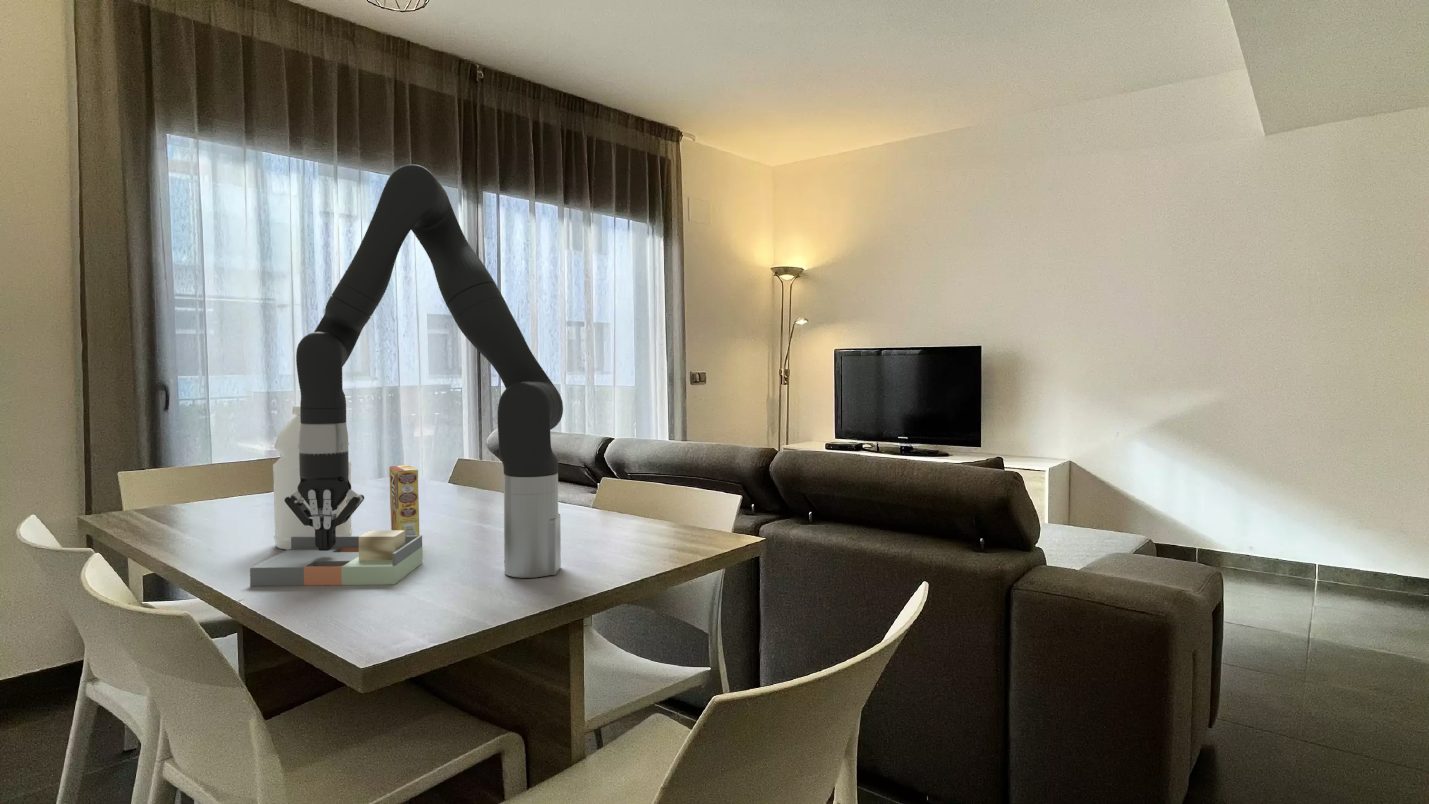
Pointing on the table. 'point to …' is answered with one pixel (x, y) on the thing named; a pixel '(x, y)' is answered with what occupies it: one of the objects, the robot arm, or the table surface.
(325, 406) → the robot arm
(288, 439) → the bottle
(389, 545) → the birch block
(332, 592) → the table surface
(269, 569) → the box
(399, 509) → the candy box
